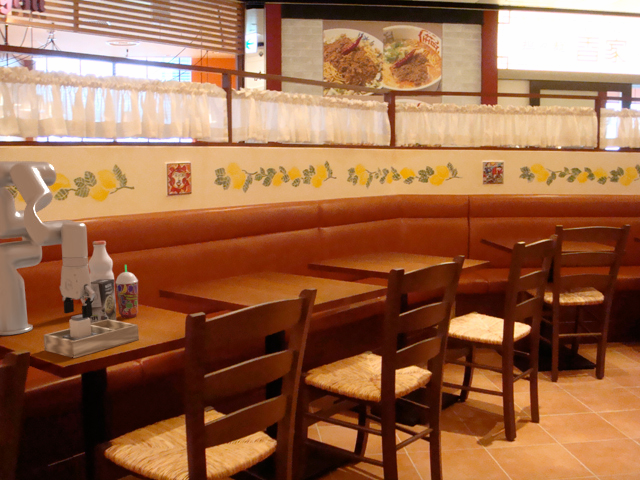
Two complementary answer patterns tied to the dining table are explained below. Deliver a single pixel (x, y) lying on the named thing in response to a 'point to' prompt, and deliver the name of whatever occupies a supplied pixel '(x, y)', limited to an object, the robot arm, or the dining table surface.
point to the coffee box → (103, 300)
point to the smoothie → (127, 294)
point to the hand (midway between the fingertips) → (78, 314)
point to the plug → (80, 326)
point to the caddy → (91, 338)
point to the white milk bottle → (100, 263)
